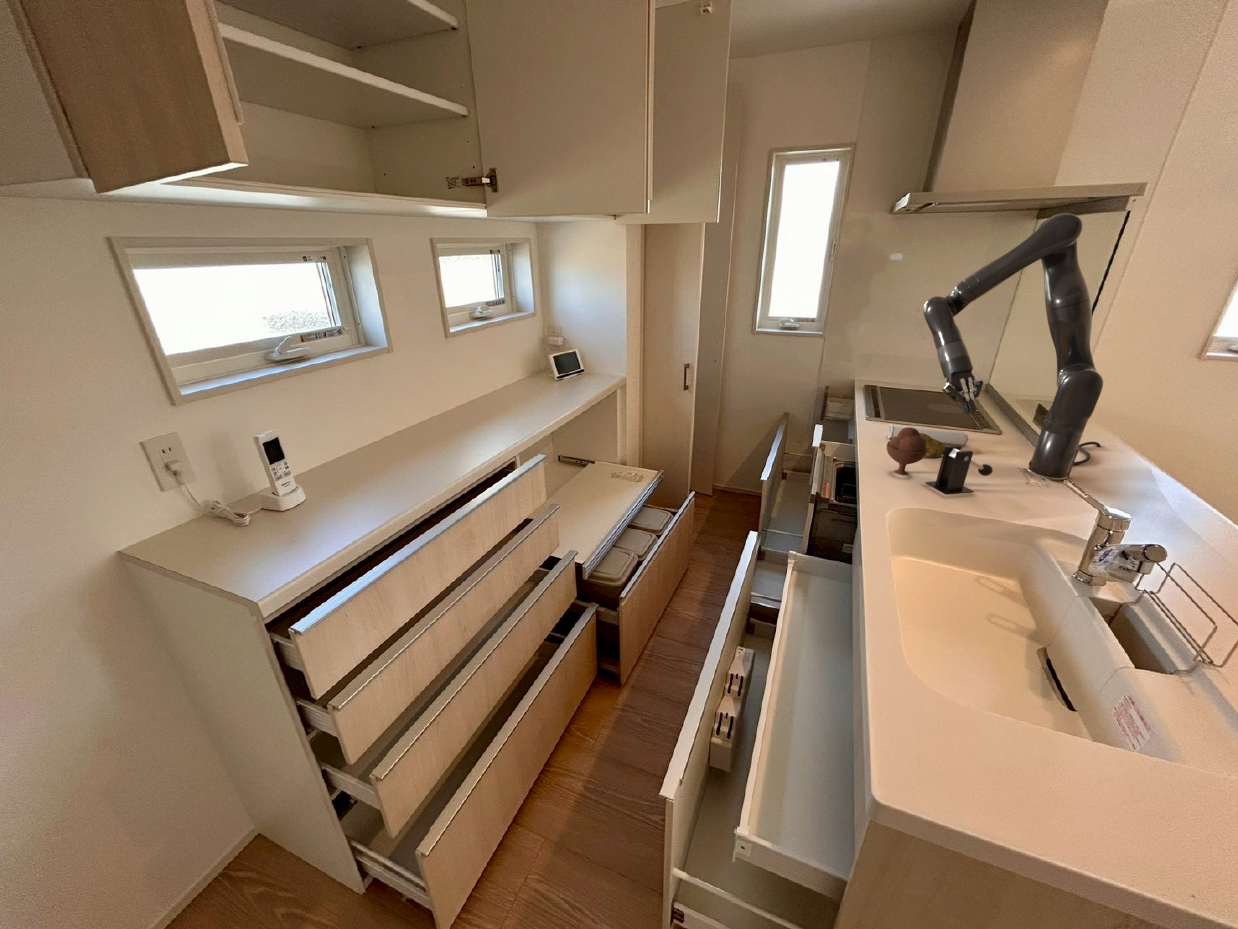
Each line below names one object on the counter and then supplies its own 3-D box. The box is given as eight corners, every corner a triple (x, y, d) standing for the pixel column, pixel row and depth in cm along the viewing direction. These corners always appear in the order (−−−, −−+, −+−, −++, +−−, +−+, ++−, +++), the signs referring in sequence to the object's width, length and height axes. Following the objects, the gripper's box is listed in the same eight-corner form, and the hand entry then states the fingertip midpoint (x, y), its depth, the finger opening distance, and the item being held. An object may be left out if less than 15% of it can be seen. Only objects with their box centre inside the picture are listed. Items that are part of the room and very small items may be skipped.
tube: (966, 432, 178) (889, 424, 185) (972, 432, 172) (892, 424, 180) (964, 447, 178) (887, 438, 186) (969, 447, 173) (890, 438, 181)
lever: (980, 474, 145) (987, 464, 144) (990, 479, 142) (998, 469, 141) (945, 456, 140) (953, 445, 139) (955, 460, 137) (963, 449, 136)
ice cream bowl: (872, 471, 155) (882, 425, 150) (899, 466, 159) (909, 421, 153) (901, 484, 146) (912, 436, 140) (928, 479, 150) (941, 432, 144)
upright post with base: (950, 483, 147) (961, 442, 142) (972, 495, 140) (985, 452, 135) (923, 485, 145) (934, 444, 141) (944, 497, 138) (956, 455, 133)
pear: (949, 462, 162) (955, 439, 159) (904, 458, 166) (910, 435, 163) (942, 453, 169) (948, 431, 166) (900, 449, 173) (905, 427, 170)
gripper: (944, 357, 146) (962, 412, 143) (983, 351, 148) (1001, 406, 145) (926, 366, 153) (942, 420, 150) (962, 361, 156) (979, 414, 153)
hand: (971, 413), depth 148 cm, fingers closed
